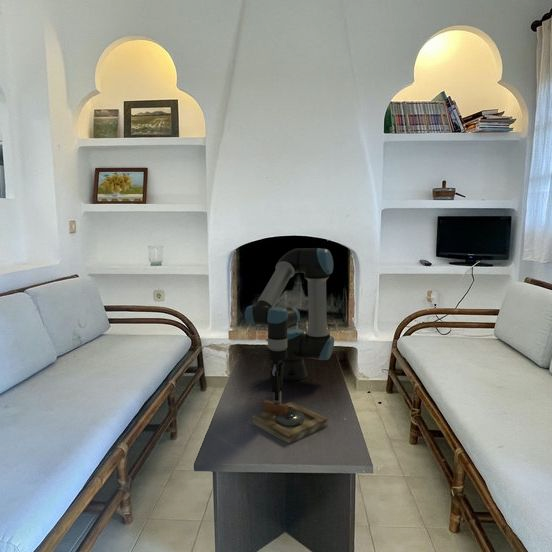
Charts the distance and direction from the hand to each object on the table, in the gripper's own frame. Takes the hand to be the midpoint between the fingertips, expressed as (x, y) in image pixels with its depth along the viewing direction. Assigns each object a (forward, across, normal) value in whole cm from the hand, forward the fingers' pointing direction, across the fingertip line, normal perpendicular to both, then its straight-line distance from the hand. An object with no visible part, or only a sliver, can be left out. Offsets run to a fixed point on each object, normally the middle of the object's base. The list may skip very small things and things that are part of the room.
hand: (277, 407), depth 161 cm
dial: (+3, +3, +3) cm, 5 cm away
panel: (+5, +4, +6) cm, 8 cm away
